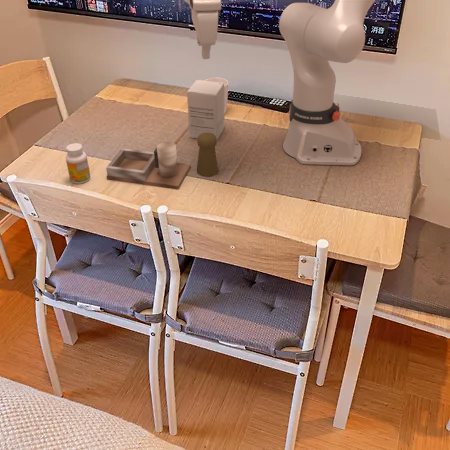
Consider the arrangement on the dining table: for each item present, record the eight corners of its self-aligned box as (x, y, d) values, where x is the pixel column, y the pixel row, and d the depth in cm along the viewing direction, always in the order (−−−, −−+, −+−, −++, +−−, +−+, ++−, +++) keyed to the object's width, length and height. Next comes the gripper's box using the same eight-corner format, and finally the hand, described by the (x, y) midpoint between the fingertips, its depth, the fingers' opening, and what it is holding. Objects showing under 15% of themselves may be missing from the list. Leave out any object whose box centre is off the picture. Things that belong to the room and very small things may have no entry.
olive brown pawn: (221, 167, 146) (221, 131, 139) (214, 178, 141) (213, 142, 135) (201, 163, 147) (200, 128, 141) (193, 174, 143) (191, 138, 136)
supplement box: (197, 124, 166) (196, 78, 157) (225, 128, 164) (225, 82, 155) (188, 137, 159) (186, 90, 150) (216, 141, 157) (216, 94, 148)
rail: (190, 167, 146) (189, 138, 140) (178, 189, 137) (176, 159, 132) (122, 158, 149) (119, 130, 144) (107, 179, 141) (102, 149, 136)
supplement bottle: (66, 177, 142) (59, 145, 136) (85, 171, 144) (79, 139, 138) (75, 186, 138) (68, 154, 132) (94, 179, 141) (88, 147, 135)
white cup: (228, 117, 170) (228, 87, 164) (203, 116, 170) (202, 87, 164) (228, 106, 176) (228, 77, 170) (204, 106, 176) (203, 77, 170)
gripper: (185, -18, 132) (186, 37, 140) (193, 5, 116) (195, 66, 124) (210, -19, 132) (210, 37, 141) (222, 4, 117) (221, 65, 125)
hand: (203, 51), depth 132 cm, fingers open, 8 cm apart
